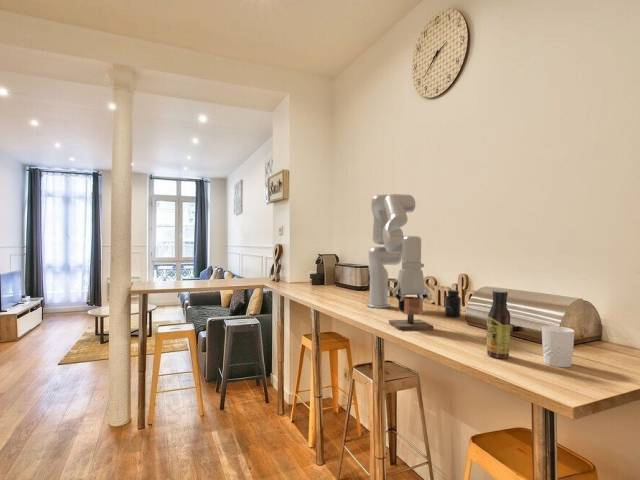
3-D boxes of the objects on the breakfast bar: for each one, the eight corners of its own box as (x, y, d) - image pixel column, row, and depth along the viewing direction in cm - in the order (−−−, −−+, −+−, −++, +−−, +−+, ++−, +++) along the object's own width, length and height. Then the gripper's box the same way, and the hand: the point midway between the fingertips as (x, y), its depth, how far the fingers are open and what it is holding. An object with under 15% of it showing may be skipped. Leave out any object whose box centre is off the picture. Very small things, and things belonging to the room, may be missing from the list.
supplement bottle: (444, 316, 170) (444, 290, 170) (445, 314, 176) (445, 289, 177) (460, 318, 168) (460, 291, 168) (460, 315, 174) (461, 290, 174)
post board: (388, 323, 153) (389, 298, 154) (420, 323, 156) (420, 297, 156) (399, 330, 142) (399, 302, 142) (433, 329, 144) (433, 302, 144)
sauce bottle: (483, 352, 114) (484, 289, 114) (503, 353, 114) (504, 289, 114) (492, 359, 108) (493, 291, 108) (514, 360, 108) (514, 292, 108)
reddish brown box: (399, 311, 152) (399, 296, 152) (415, 310, 153) (415, 296, 153) (405, 314, 145) (406, 299, 145) (422, 314, 146) (422, 299, 146)
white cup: (562, 369, 100) (562, 333, 100) (535, 361, 107) (535, 326, 107) (580, 366, 103) (580, 330, 103) (552, 358, 110) (553, 324, 110)
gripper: (427, 266, 154) (426, 308, 154) (387, 265, 151) (386, 309, 151) (435, 267, 147) (435, 312, 146) (394, 267, 144) (393, 312, 144)
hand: (410, 310), depth 149 cm, fingers closed on reddish brown box, 6 cm apart
